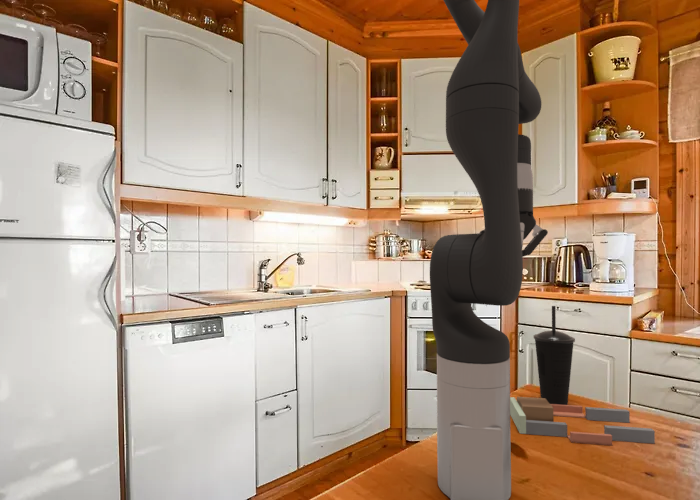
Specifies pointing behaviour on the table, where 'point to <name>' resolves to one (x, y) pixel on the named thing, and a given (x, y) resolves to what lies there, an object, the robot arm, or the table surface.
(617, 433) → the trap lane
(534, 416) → the walnut block
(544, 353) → the drinking cup
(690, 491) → the table surface
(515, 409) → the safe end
